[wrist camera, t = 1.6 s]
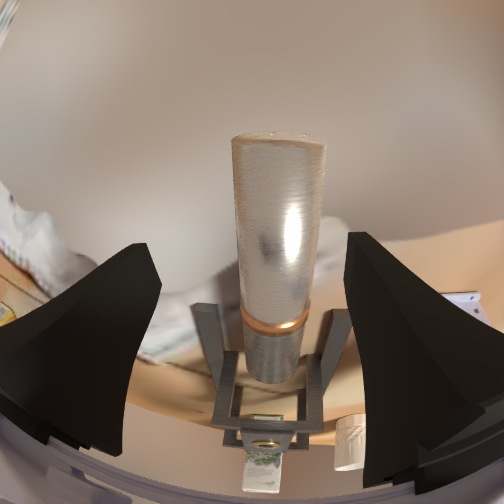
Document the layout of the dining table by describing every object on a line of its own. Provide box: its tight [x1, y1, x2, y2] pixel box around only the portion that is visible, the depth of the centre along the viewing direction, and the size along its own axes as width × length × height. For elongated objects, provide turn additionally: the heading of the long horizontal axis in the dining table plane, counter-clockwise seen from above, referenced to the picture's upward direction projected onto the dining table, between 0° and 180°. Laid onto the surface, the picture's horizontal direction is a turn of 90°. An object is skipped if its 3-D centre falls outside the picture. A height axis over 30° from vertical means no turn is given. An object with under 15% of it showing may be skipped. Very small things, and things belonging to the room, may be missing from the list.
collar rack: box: [194, 303, 352, 453], centre depth 27 cm, size 14×24×10 cm, turn 1°
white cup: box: [334, 413, 366, 471], centre depth 36 cm, size 8×8×10 cm
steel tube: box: [231, 132, 327, 384], centre depth 19 cm, size 20×5×5 cm, turn 1°
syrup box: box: [242, 415, 284, 493], centre depth 35 cm, size 6×6×14 cm
